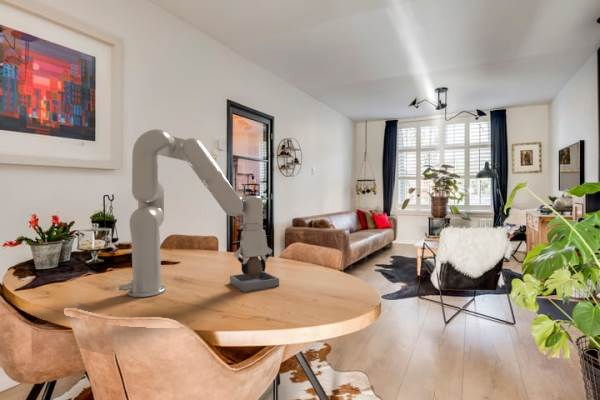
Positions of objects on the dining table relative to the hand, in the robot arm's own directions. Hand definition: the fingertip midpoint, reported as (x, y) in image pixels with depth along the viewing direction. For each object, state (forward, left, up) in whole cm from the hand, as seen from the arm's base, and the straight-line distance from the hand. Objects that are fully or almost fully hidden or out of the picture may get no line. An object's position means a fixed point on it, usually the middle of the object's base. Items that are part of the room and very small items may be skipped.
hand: (253, 271), depth 131 cm
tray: (0, 0, -5) cm, 5 cm away
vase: (0, 0, -2) cm, 2 cm away
